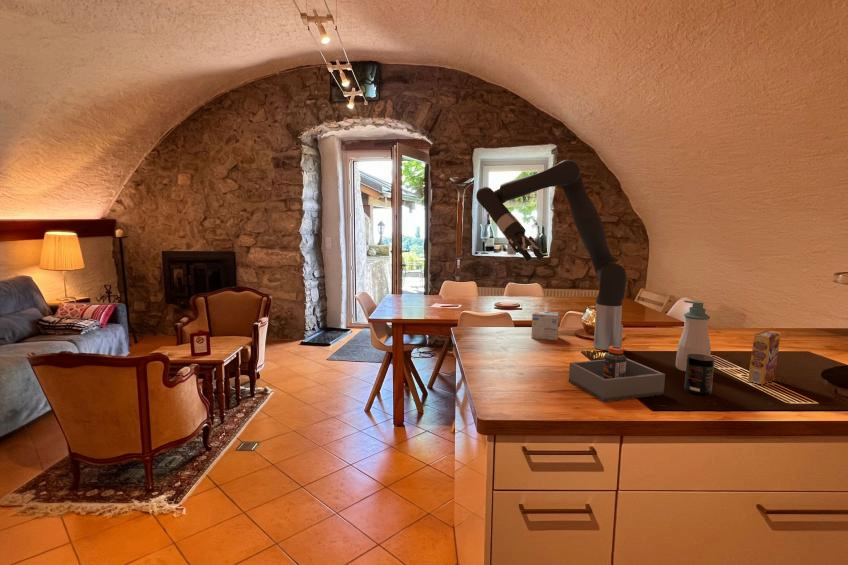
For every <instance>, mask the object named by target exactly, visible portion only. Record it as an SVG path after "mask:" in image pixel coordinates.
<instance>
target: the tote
mask: <svg viewBox="0 0 848 565" xmlns="http://www.w3.org/2000/svg"><path fill="white" fill-rule="evenodd" d="M568 370H569V371H568V373H569V374H568V382H569V383H571V384H572V385H574V386H575V387H577V388H579V389H580V390H582V391H584V392H585V393H587V394H589V395H591V396H592V397H594V398H596V399H598V400H599V401H601V402H603V403H604V402H605V403H607V402H613V401H622V400H629V399H630V400H631V399H639V398H648V397H654V396H655V395H656V396H663V395H662V394H664V393H665V380H666V374H665V373H663V372H660V371H658V370H655V369H654V368H652V367H649V366H646V365H644V364H641V363H640V362H637V361H635V360H632V359H629V358H628V357H626V373H625V377H620V378H610V379H604V378H603V372H604V359H598V360H597V359H596V360H595V359H593V360H586V361H573V362H569V368H568Z"/></svg>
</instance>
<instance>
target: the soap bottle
mask: <svg viewBox="0 0 848 565" xmlns="http://www.w3.org/2000/svg"><path fill="white" fill-rule="evenodd" d="M683 302H684V303H689V304H692V306H690V307H689V310H688V311H687V312H685V313H684V314H683V317H684V326H683V330H682V334H681V335H680V339H679V341H678V344H677V349H676V356H675V367H676V369H678V370H679V371H682V372H683V371H684V372H683V373H686V364H687V355H688V354H702V355H707V356H710V357H712V355H711V353H712V349H711V348H712V346H711V341H710V337H709V330H708V326H709V325H708V324H709V320H710V318H711V316H710V315H709V314H707V313H706V310H707V308H704V302H703V301H696V300H693V301H692V300H683Z"/></svg>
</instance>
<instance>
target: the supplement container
mask: <svg viewBox="0 0 848 565" xmlns="http://www.w3.org/2000/svg"><path fill="white" fill-rule="evenodd" d="M715 361H716V360H715V358H714V357H713V356H711V357H710V356H707V355H702V354H688V355H687V364H686V372H685V378H684V386H683V388H684V390H685V392H686V393H688V392H689V393H688V394H690V393H691V394H690V395H693V394H695V395H694V396H698V395H702V396H701V397H707V396H706V395H708V396H710V395H711V394H712V390H713V381H714V380H713V379H714V367H715Z"/></svg>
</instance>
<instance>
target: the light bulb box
mask: <svg viewBox="0 0 848 565" xmlns="http://www.w3.org/2000/svg"><path fill="white" fill-rule="evenodd" d="M559 321H560V313H559V312H555V311H537V310H533V312H532V314H531V337H530V338H531V339H539V340H546V341H547V340H549V341H558V338H559V327H560V324H559V323H560V322H559Z"/></svg>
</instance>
